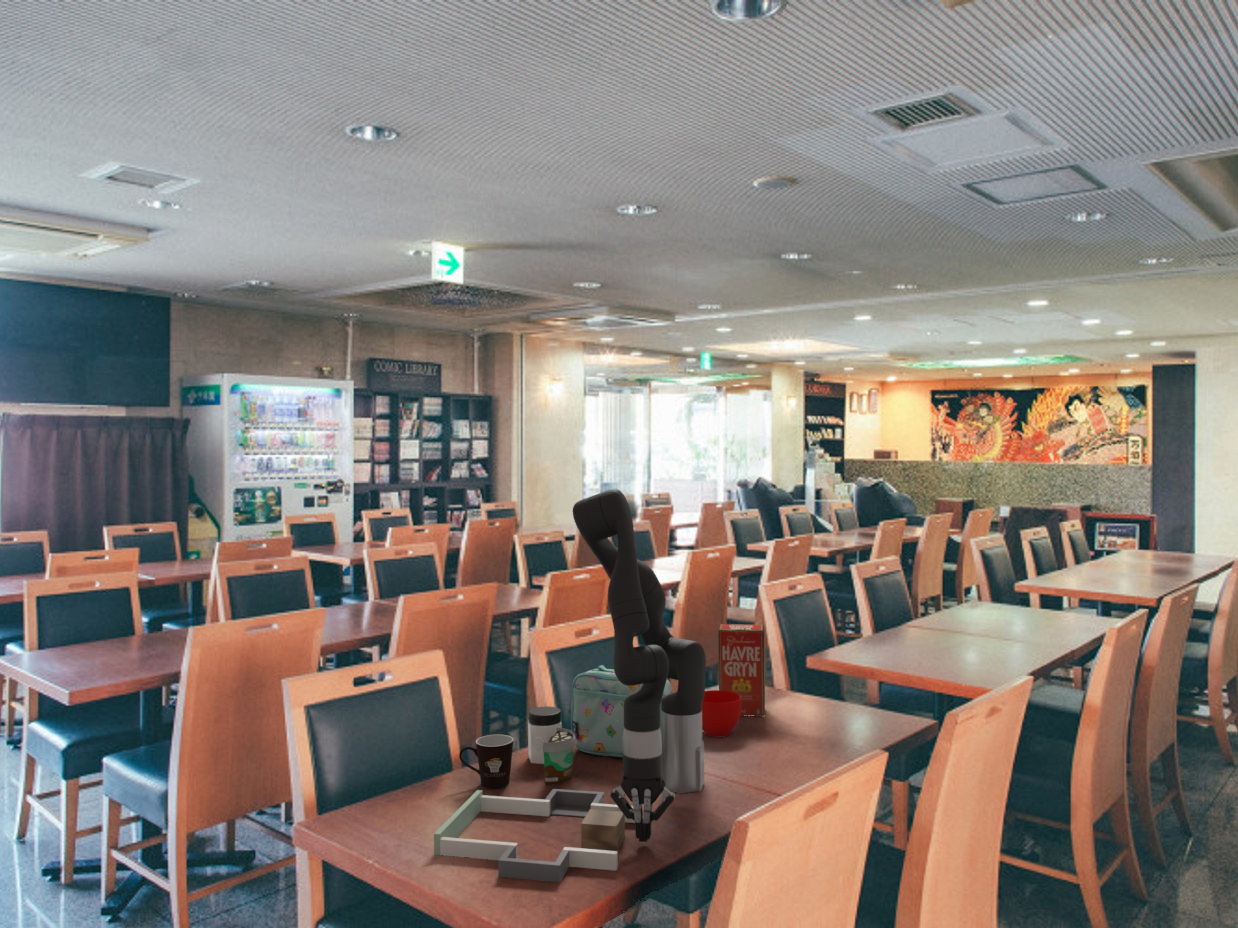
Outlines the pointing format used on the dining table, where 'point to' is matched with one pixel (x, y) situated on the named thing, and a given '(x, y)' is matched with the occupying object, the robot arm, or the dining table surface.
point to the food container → (559, 757)
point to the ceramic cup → (720, 712)
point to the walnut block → (603, 830)
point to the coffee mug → (493, 760)
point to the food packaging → (743, 665)
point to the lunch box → (601, 711)
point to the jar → (541, 730)
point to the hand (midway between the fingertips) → (643, 839)
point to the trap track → (508, 852)
